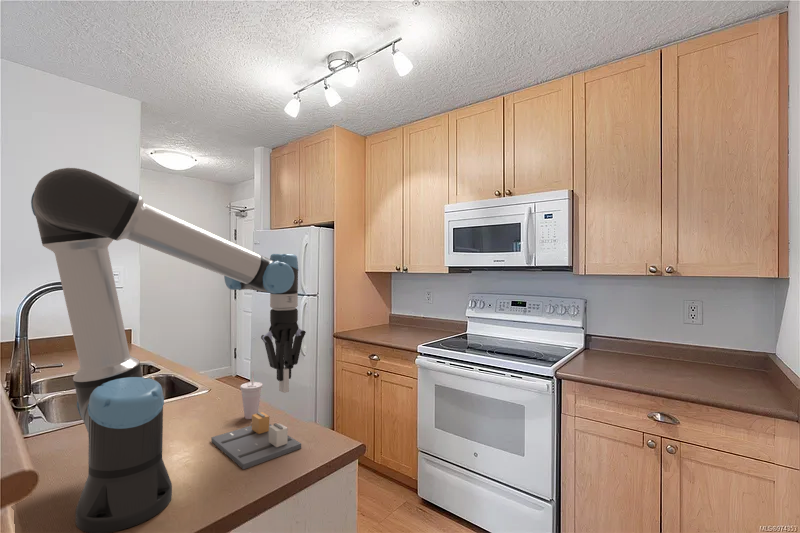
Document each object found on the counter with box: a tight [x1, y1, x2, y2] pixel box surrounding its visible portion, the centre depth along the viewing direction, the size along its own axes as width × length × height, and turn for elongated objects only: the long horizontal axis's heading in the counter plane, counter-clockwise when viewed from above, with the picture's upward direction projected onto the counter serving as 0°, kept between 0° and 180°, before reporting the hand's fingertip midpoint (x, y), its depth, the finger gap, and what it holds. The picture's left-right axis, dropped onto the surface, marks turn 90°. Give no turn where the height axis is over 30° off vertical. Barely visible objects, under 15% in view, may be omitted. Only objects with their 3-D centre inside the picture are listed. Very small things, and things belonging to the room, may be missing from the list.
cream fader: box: [269, 422, 289, 447], centre depth 101 cm, size 3×4×4 cm
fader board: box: [210, 423, 302, 470], centre depth 102 cm, size 15×19×1 cm
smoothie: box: [239, 370, 264, 420], centre depth 121 cm, size 6×6×14 cm
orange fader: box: [251, 411, 270, 434], centre depth 108 cm, size 3×4×4 cm
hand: (283, 391), depth 113 cm, fingers closed
